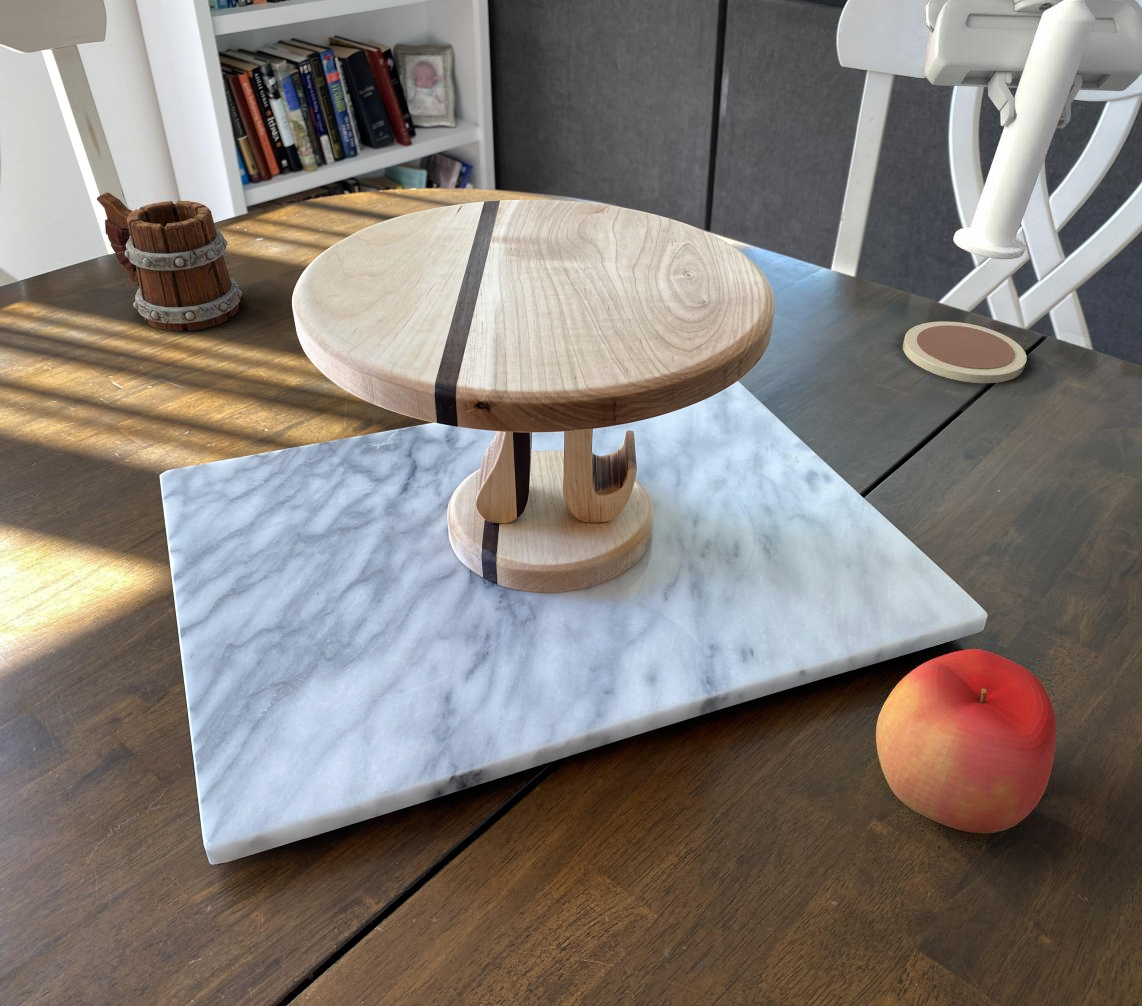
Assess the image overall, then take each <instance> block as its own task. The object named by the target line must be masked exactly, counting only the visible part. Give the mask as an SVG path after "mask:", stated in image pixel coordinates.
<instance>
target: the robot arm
mask: <svg viewBox="0 0 1142 1006" xmlns="http://www.w3.org/2000/svg"><path fill="white" fill-rule="evenodd" d="M1062 1H1063V0H927V1H926V3H925V11H924V12H925V15H924V16H925V17H924V18H925V19H924V20H925V25H926V28H927V30H929V34H928V38H927V45H926V50H925V57H924V58H925V60H924V77H925V78H926V80H928V82H929V83H930V84H931V85H933V86H948V87H974V88H975V87H977V88H978V87H980V88H987V96H988V98H989V99H990V100H991V102H992V103H993V105H994V107H996V109H997V110H998V112H999V113H1000V116H999V117H1000V126H1001V127H1005V126H1008V125H1009V124H1011V123H1012V122H1013V121H1015V119H1016V117H1017V113H1016V109H1015V99H1014V97H1015V96H1013V94H1012V91H1011V90H1010V89H1017V88H1018V85H1019V82H1020V79H1021V76H1022V73H1023V70H1024V67H1025V64H1026V61H1027V58H1028V56H1029V53H1030V50H1031V47H1032V44H1033V41H1034V38H1035V35H1036V32H1037V29H1038V26H1039V23H1040V20H1041V17H1042V14H1043V12H1045V11H1046V10H1048V9H1050V8H1052V7H1053V6H1055V5H1057V4H1058V3H1060V2H1062ZM1085 4H1086V6H1087V7H1088V9H1089V10H1090V12H1091V13H1092V15H1093V16H1094V17H1095V24H1094V26H1093V29H1092V32H1091V35H1090V37H1089V40H1088V43H1087V45H1086V48H1085V51H1084V54H1083V56H1082V59H1081V62H1080V64H1079V67H1078V70H1077V73H1076V75H1075V78H1074V81H1073V83H1072V86H1071V89H1070V92H1069V94H1068V97H1067V100H1066V102H1065V105H1064V108H1063V111H1062V113H1061V116H1060V119H1059V121H1058V124H1057V127H1056V129H1064V128H1065V127H1067V125H1068V124H1069V123H1070V121H1071V118H1072V103H1073V101H1074V100H1075V98H1076V97H1077V95H1078V94H1079V91H1099V92H1101V91H1103V92H1105V91H1106V92H1124V91H1125V90H1127V89H1128V88H1130V87H1131V85H1133V84H1134V82H1136V81H1137V80H1138V78H1140V76H1141V75H1142V6H1141V4H1140V3H1139V2H1138V1H1137V0H1085Z"/></svg>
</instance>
